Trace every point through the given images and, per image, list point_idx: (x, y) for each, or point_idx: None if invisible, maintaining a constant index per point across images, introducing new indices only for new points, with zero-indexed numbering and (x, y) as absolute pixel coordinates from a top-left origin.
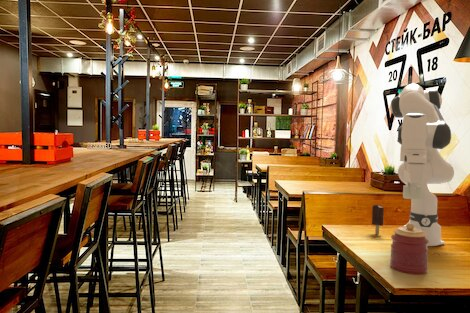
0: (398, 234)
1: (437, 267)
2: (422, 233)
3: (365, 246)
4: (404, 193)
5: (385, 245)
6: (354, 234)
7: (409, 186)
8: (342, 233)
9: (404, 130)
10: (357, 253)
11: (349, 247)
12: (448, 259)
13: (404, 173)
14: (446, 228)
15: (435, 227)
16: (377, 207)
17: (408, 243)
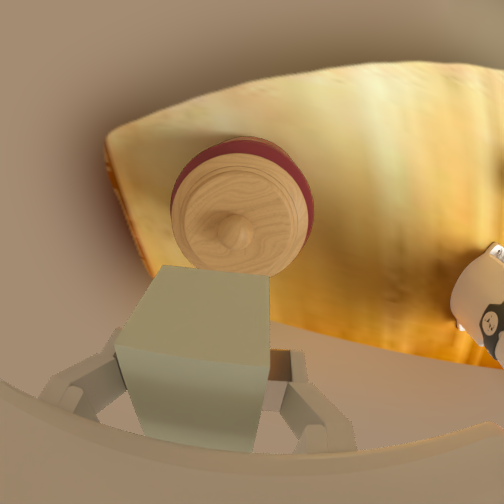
0: (198, 166)
1: (285, 268)
2: (203, 265)
3: (444, 116)
4: (149, 292)
5: (459, 182)
6: None
7: (154, 391)
8: None
9: None
10: (371, 67)
11: (424, 63)
12: (354, 311)
13: (481, 484)
14: None
15: (478, 335)
16: None
17: (172, 195)
